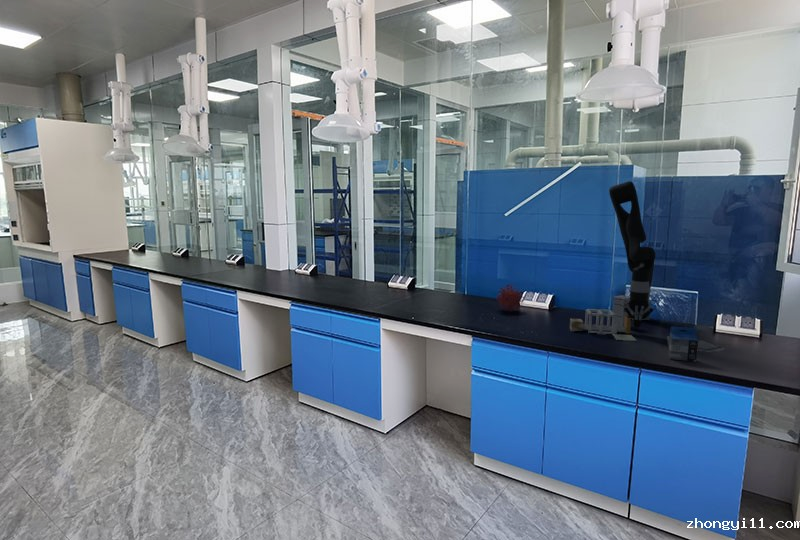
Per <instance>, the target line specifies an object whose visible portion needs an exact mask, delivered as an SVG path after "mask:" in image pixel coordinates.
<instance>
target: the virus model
mask: <svg viewBox="0 0 800 540" xmlns="http://www.w3.org/2000/svg"><path fill="white" fill-rule="evenodd" d="M505 287H506V288H505ZM517 288H518V287H516V285H512V284H506V285H504V286H501V288H500V290H497V292H498V293H499V294H498V295H497V296H496V301H498V302H497V305H499V307H500V308H501V309H503V308H505V309H504V312H510V313H511V312H513V311H514V312H515V311H518V310H519V308H520V306H521V305H523V304H522V303H523V302H524V301H525V298H524V296H523V292H522V291H520V288H518V289H517Z"/></svg>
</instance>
